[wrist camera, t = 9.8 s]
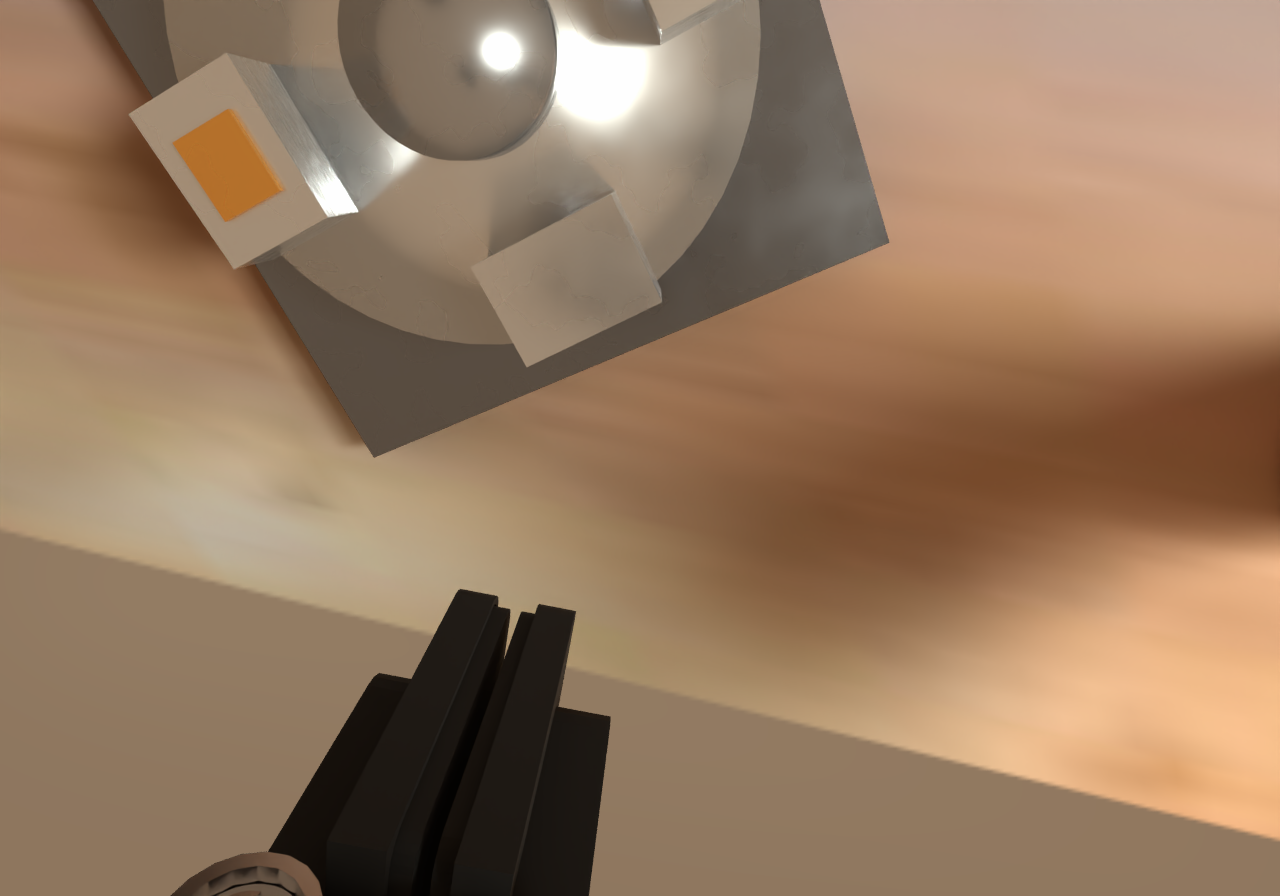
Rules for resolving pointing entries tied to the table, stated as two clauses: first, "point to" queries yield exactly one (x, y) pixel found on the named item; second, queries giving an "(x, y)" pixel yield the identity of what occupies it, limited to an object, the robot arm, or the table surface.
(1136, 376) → the table surface
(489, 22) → the silver hub plate
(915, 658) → the table surface
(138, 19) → the grey square base plate
